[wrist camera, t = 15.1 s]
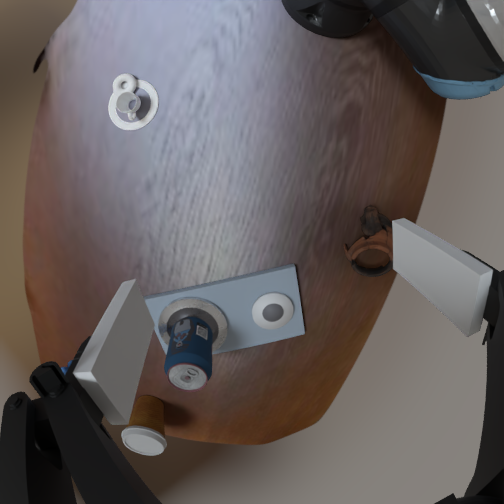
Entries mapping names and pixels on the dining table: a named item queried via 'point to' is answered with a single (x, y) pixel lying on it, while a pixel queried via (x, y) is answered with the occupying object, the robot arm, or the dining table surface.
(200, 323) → the soda can
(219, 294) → the flange board
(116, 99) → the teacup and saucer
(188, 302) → the wide flange
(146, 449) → the disposable coffee cup
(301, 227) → the dining table surface
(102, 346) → the robot arm
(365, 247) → the pottery mug
